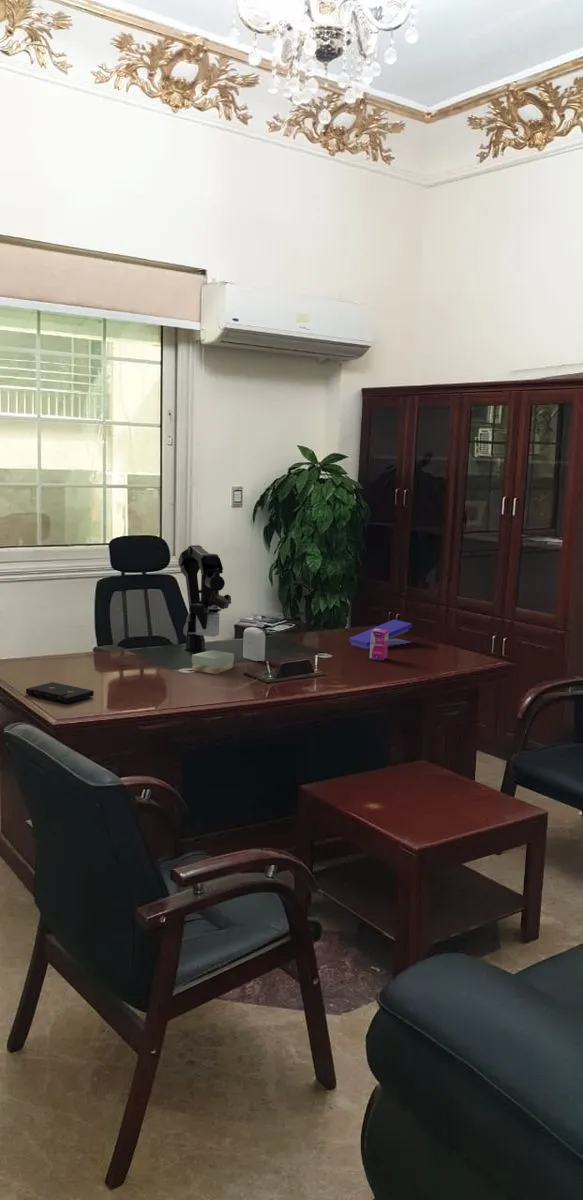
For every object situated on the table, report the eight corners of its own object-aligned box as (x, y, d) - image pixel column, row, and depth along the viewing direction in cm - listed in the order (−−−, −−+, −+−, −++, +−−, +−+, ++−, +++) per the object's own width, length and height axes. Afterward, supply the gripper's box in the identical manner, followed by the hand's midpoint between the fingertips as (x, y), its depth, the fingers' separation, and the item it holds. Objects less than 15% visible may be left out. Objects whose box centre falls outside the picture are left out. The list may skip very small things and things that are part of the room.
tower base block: (192, 671, 329) (192, 663, 328) (209, 665, 340) (209, 657, 339) (216, 675, 325) (216, 667, 324) (232, 669, 336) (233, 661, 335)
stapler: (413, 645, 395) (414, 622, 393) (367, 651, 377) (368, 628, 375) (393, 640, 403) (395, 618, 402) (348, 646, 385) (349, 624, 384)
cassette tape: (25, 694, 288) (25, 687, 288) (52, 687, 298) (52, 681, 297) (67, 703, 279) (67, 697, 279) (94, 696, 289) (94, 689, 288)
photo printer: (241, 657, 353) (242, 626, 352) (250, 656, 356) (251, 625, 354) (257, 662, 346) (258, 630, 344) (266, 661, 348) (267, 629, 346)
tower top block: (191, 663, 329) (191, 654, 329) (211, 657, 339) (211, 649, 339) (214, 667, 324) (214, 658, 324) (233, 661, 334) (234, 653, 334)
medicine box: (219, 635, 347) (220, 612, 345) (213, 637, 342) (214, 614, 341) (201, 633, 350) (201, 610, 349) (195, 634, 346) (195, 612, 345)
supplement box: (369, 659, 360) (370, 630, 358) (373, 656, 365) (374, 628, 364) (383, 661, 358) (384, 632, 356) (387, 658, 363) (389, 629, 362)
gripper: (215, 592, 332) (214, 634, 334) (239, 586, 349) (237, 627, 351) (188, 589, 336) (187, 631, 339) (213, 584, 353) (212, 624, 355)
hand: (207, 628), depth 346 cm, fingers closed on medicine box, 4 cm apart
